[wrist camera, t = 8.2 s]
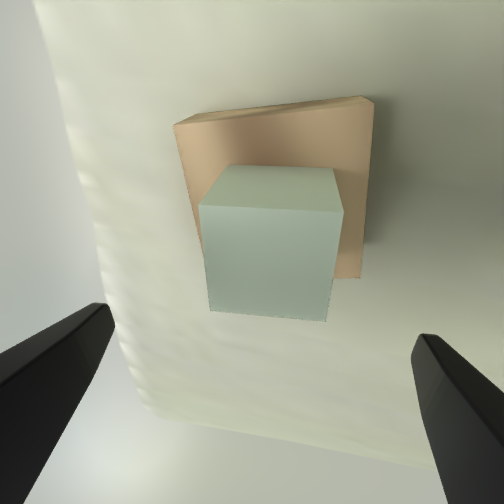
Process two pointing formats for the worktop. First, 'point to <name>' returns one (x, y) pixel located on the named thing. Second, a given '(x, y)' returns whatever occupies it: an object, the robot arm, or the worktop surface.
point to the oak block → (288, 154)
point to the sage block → (271, 240)
